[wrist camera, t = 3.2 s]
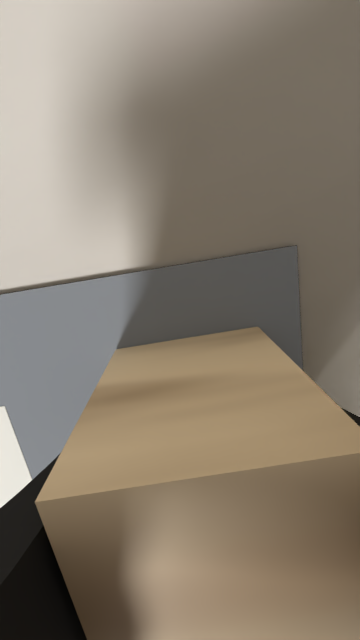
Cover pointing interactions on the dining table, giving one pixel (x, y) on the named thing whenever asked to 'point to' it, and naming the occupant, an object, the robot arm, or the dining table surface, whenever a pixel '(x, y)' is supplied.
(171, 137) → the dining table surface
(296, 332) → the slate mat
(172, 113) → the dining table surface
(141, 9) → the dining table surface
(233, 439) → the maple block
